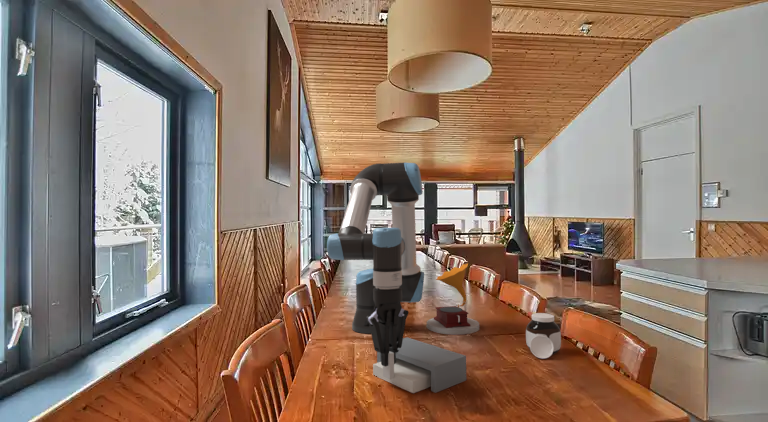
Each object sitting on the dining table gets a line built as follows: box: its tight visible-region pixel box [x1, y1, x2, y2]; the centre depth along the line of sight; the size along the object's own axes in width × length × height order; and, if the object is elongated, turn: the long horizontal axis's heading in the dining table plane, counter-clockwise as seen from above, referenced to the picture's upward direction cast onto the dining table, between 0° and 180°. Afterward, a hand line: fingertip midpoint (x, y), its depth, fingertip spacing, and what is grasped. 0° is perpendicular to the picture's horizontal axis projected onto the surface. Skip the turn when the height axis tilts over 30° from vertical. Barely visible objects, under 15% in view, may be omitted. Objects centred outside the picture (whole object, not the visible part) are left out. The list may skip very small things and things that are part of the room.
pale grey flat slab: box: [372, 358, 431, 394], centre depth 113 cm, size 16×10×3 cm, turn 40°
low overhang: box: [376, 337, 467, 394], centre depth 117 cm, size 23×12×6 cm, turn 40°
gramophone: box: [426, 263, 480, 336], centre depth 165 cm, size 20×20×25 cm
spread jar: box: [525, 312, 562, 360], centre depth 132 cm, size 12×11×12 cm
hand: (388, 377), depth 109 cm, fingers closed
